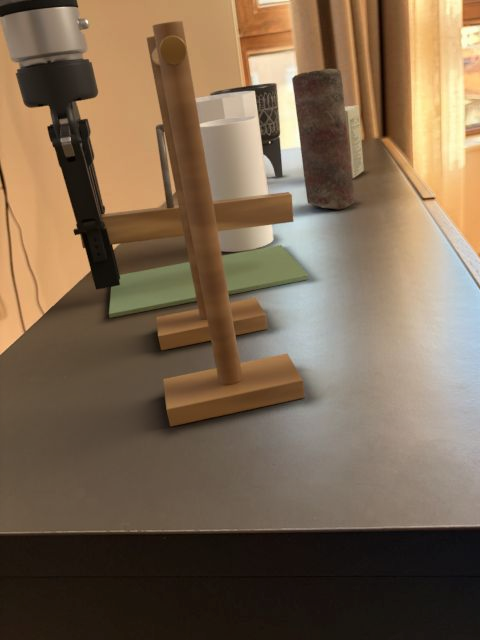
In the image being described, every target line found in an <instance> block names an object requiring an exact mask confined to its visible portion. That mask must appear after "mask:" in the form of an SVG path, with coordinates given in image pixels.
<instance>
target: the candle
mask: <svg viewBox="0 0 480 640" xmlns="http://www.w3.org/2000/svg"><path fill="white" fill-rule="evenodd" d="M291 81H292V82H291V83H292V89H293V95H294V96H293V97H294V104H295V112H296V119H297V120H296V121H297V129H298V134H299V143H300V144H299V145H300V152H301V161H302V169H303V177H304V185H305V193H306V200H307V204H309V205H312V206H314V207H320V208H321V209H331V210H335V211H336V210H345V209H347V208H348V207H350V206H351V205H353V204H354V203H355V189H354V178H352V169H351V162H350V152H349V144H348V134H347V125H346V115H345V95H344V84H343V78H342V71H341V70H340V69H338V68H326V69H320V70H311V71H309V72H307V71H306V72H301V73H298V74H295V75H294V76H293V77H292V78H291Z"/></svg>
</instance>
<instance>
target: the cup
mask: <svg viewBox="0 0 480 640" xmlns="http://www.w3.org/2000/svg"><path fill="white" fill-rule="evenodd" d="M200 129H201V135H202V140H203V146H204V152H205V158H206V164H207V170H208V176H209V182H210V188H211V194H212V200H213V201H217V200H226V199H234V198H242V197H251V196H259V195H268V194H269V192H268V193H267V186H268V184H267V185H266V179H267V177H266V178H265V171H266V169H265V170H264V164H265V162H264V163H263V156H264V154H263V155H262V148H261V140H260V133H259V126H258V119H257V116H244V117H235V118H227V119H221V120H215V121H210V122H205V123H201V124H200ZM218 235H219V241H220V247H221V252H226V253H240V252H245V251H250V250H256V249H261V248H264V247H265V246H268V245H269V244H271V243H272V242H273V241H274V231H273V225H265V226H257V227H249V228H241V229H233V230H225V231H218Z"/></svg>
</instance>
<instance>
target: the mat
mask: <svg viewBox="0 0 480 640" xmlns="http://www.w3.org/2000/svg"><path fill="white" fill-rule="evenodd" d="M222 259H223V265H224V271H225V277H226V283H227V289H228V295H229V296H231V295H235V294H241V293H245V292H250V291H256V290H261V289H266V288H271V287H276V286H281V285H286V284H292V283H296V282H301V281H307V280H309V279H310V278H309V274H308V273H307V272H306V271H305V270H304V269H303V268H302V266H301V265H300V264H299V263H298V262H297V260H295V259H294V258H293V256H291V254H290V253H289V252H288V251H287V249H285V247H284V246H283V245H282V244H278V245H273V246H268V247H267V246H266V247H260V248H256V249H252V250H246V251H239V252H233V253H230V254H224V255H222ZM119 275H120V279H119V281H120V285H118V286H113V287H110V295H109V308H108V316H109V318H110V319H113V318H116V317H122V316H127V315H132V314H137V313H143V312H149V311H154V310H157V309H158V310H159V309H163V308H168V307H173V306H178V305H184V304H189V303H195V302H197V300H196V294H195V289H194V284H193V279H192V273H191V268H190V263H189V261H186V262H181V263H177V264H176V263H175V264H171V265H165V266H160V267H155V268H150V269H143V270H139V271H138V270H137V271H135V272H127V273H124V274H123V273H122V274H119Z"/></svg>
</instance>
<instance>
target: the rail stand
mask: <svg viewBox="0 0 480 640" xmlns="http://www.w3.org/2000/svg"><path fill="white" fill-rule="evenodd" d="M152 32H153V35H152V36H147V37H146V43H147V48H148V49H147V50H148V54H149V58H150V59H149V60H150V63H151V69H152V74H153V81H154V85H155V90H156V96H157V102H158V105H159V111H160V116H161V121H162V124H163V127H164V138H165V144H166V149H167V153H168V158H169V159H168V160H169V163H170V168H171V174H172V179H173V184H174V189H175V195H176V200H177V205H178V206H179V211H180V216H181V221H182V226H183V232H184V241H185V247H186V253H187V257H188V262H189V263H190V268H191V273H192V279H193V284H194V289H195V294H196V300H197V301H196V306H197V308H196V309H191V310H186V311H180V312H175V313H171V314H165V315H161V316H156V317H155V319H156V320H155V321H156V329H157V337H158V342H159V346H160V350H161V351H166V350H171V349H176V348H181V347H185V346H190V345H191V346H192V345H195V344H201V343H206V342H211V347H212V353H213V358H214V364H215V367H214V368H210V369H206V370H205V369H204V370H200V371H195V372H191V373H187V374H182V375H177V376H172V377H171V376H170V377H167V378H163V379H162V383H163V392H164V400H165V408H166V413H167V417H168V418H167V419H168V423H169V426H170V427H176V426H181V425H184V424H189V423H193V422H199V421H203V420H204V421H205V420H208V419H213V418H217V417H221V416H227V415H231V414H235V413H241V412H245V411H251V410H254V409H258V408H263V407H267V406H273V405H277V404H281V403H287V402H291V401H296V400H300V399H305V397H306V394H305V392H306V391H305V385H304V379H303V378H302V376H301V374H300V373H299V371H298V369H297V368H296V365H295V364H294V362H293V360H292V359H291V357H290V355H289V353H288V352H287V353H282V354H277V355H273V356H268V357H263V358H259V359H254V360H253V359H252V360H248V361H244V362H241V361H240V355H239V349H238V343H237V338H236V336H239V335H240V336H241V335H246V334H249V333H254V332H255V333H256V332H260V331H265V330H268V328H269V327H268V321H267V315H266V313H265V310H264V309H263V307H262V306H261V304H260V302H259V300H258V298H257V297H252V298H246V299H242V300H236V301H232V302H230V295H228V289H227V283H226V277H225V271H224V265H223V259H222V256H223V254H222V251H221V247H220V241H219V235H218V229H217V224H216V218H215V212H214V206H213V200H212V194H211V188H210V182H209V176H208V170H207V164H206V158H205V152H204V146H203V140H202V135H201V129H200V123H199V117H198V111H197V105H196V99H195V98H196V93H195V88H194V81H193V75H192V70H191V64H190V59H189V52H188V46H187V41H186V34H185V28H184V23H183V20H176V21H167V22H161V23H156V24H153V25H152Z"/></svg>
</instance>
